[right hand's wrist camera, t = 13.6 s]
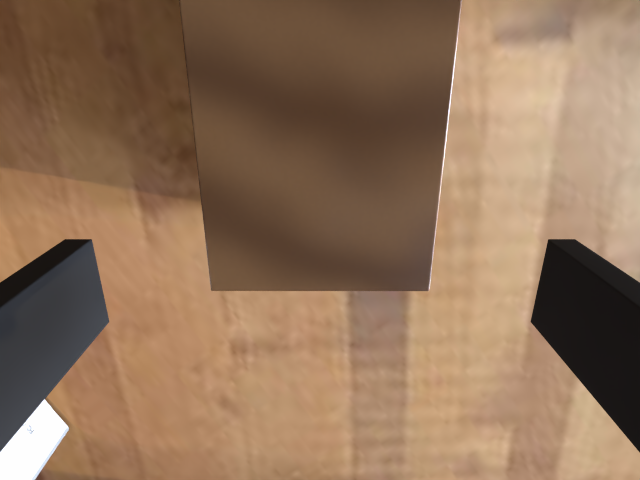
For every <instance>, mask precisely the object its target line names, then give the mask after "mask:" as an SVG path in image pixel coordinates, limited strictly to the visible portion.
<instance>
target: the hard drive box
mask: <svg viewBox="0 0 640 480" xmlns="http://www.w3.org/2000/svg"><path fill="white" fill-rule="evenodd" d="M68 430H69V428H68V426H67V425H66V424H65V423H64V422H63V420H62V419H61V418H60V417H59V416H58V415H57V414H56V413H55V411H54V410H53V409H52V407H51V406H50V405H49V404H48V403H47V402H46V400H45V399H44V400H43V402H42V403H41V404H40V405H39V406H38V408H37V409H36V410H35V411H34V412H33V414H32V415H31V416H30V417H29V418H28V420H27V421H26V422H25V423H24V424H23V426H22V427H21V428H20V429H19V430H18V432H17V433H16V434H15V435H14V436H13V438H12V439H11V440H10V441H9V442H8V444H7V445H6V446H5V447H4V448H3V450H2V451H1V452H0V480H35V479H36V477H37V476H38V474H39V473H40V471H41V470H42V468H43V467H44V465H45V464H46V462H47V461H48V460H49V458H50V457H51V455H52V454H53V452H54V451H55V449H56V448H57V446H58V445H59V443H60V442H61V440H62V438H63V437H64V436H65V434H66V433H67V431H68Z"/></svg>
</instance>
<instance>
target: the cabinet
mask: <svg viewBox="0 0 640 480" xmlns="http://www.w3.org/2000/svg"><path fill="white" fill-rule="evenodd" d="M179 3H180V12H181V21H182V31H183V40H184V49H185V58H186V67H187V76H188V85H189V94H190V103H191V112H192V121H193V130H194V139H195V148H196V158H197V167H198V176H199V185H200V194H201V203H202V212H203V221H204V230H205V239H206V248H207V257H208V266H209V276H210V285H211V291H429V288H430V279H431V270H432V261H433V252H434V243H435V235H436V226H437V217H438V208H439V199H440V190H441V181H442V173H443V164H444V155H445V146H446V137H447V128H448V119H449V110H450V102H451V93H452V84H453V75H454V66H455V57H456V48H457V40H458V31H459V22H460V13H461V4H462V0H179Z"/></svg>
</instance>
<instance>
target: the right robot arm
mask: <svg viewBox="0 0 640 480" xmlns="http://www.w3.org/2000/svg"><path fill="white" fill-rule="evenodd" d="M108 323H109V318H108V314H107V309H106V304H105V299H104V295H103V290H102V285H101V281H100V276H99V271H98V267H97V262H96V257H95V253H94V248H93V243H92V239H65V240H63V241H62V242H60V243H59V244H57V245H56V246H54V247H53V248H51V249H50V250H48V251H47V252H45V253H44V254H42V255H41V256H39V257H38V258H36V259H35V260H33V261H32V262H30V263H29V264H27V265H26V266H24V267H23V268H21V269H20V270H19V271H17V272H16V273H14V274H13V275H11V276H10V277H8V278H7V279H5V280H4V281H2V282H1V283H0V452H1V451H2V450H3V448H4V447H5V446H6V445H7V444H8V442H9V441H10V440H11V439H12V438H13V436H14V435H15V434H16V433H17V432H18V430H19V429H20V428H21V427H22V426H23V424H24V423H25V422H26V421H27V420H28V418H29V417H30V416H31V415H32V414H33V412H34V411H35V410H36V409H37V408H38V406H39V405H40V404H41V403H42V402H43V400H44V399H45V398H46V397H47V396H48V394H49V393H50V392H51V391H52V390H53V388H54V387H55V386H56V385H57V384H58V382H59V381H60V380H61V379H62V378H63V376H64V375H65V374H66V373H67V372H68V371H69V369H70V368H71V367H72V366H73V365H74V363H75V362H76V361H77V360H78V359H79V357H80V356H81V355H82V354H83V353H84V351H85V350H86V349H87V348H88V347H89V345H90V344H91V343H92V342H93V341H94V339H95V338H96V337H97V336H98V335H99V333H100V332H101V331H102V330H103V329H104V327H105V326H106V325H107V324H108ZM531 323H532V324H533V325H534V326H535V327H536V329H537V330H538V331H539V332H540V333H541V335H542V336H543V337H544V338H545V339H546V341H547V342H548V343H549V344H550V345H551V347H552V348H553V349H554V350H555V351H556V353H557V354H558V355H559V356H560V357H561V359H562V360H563V361H564V362H565V363H566V365H567V366H568V367H569V368H570V369H571V371H572V372H573V373H574V374H575V375H576V376H577V378H578V379H579V380H580V381H581V382H582V384H583V385H584V386H585V387H586V388H587V390H588V391H589V392H590V393H591V394H592V396H593V397H594V398H595V399H596V400H597V402H598V403H599V404H600V405H601V406H602V408H603V409H604V410H605V411H606V412H607V414H608V415H609V416H610V417H611V418H612V420H613V421H614V422H615V423H616V424H617V426H618V427H619V428H620V429H621V430H622V432H623V433H624V434H625V435H626V436H627V438H628V439H629V440H630V441H631V442H632V444H633V445H634V446H635V447H636V448H637V450H638V451H639V452H640V283H639V282H638V281H636V280H635V279H633V278H632V277H630V276H629V275H627V274H626V273H624V272H623V271H621V270H620V269H619V268H617V267H616V266H614V265H613V264H611V263H610V262H608V261H607V260H605V259H604V258H602V257H601V256H599V255H598V254H596V253H595V252H593V251H592V250H590V249H589V248H587V247H586V246H584V245H583V244H581V243H580V242H578V241H577V240H575V239H548V243H547V248H546V253H545V257H544V262H543V267H542V271H541V276H540V281H539V285H538V290H537V295H536V299H535V304H534V309H533V314H532V318H531Z"/></svg>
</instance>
